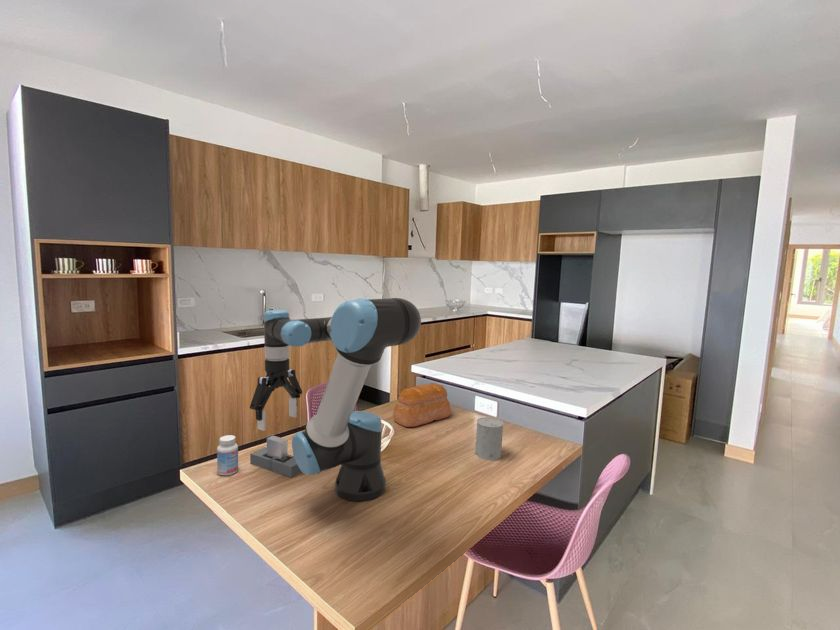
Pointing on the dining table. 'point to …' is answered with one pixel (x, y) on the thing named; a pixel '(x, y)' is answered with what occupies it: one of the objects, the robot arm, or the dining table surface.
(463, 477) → the dining table surface
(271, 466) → the grey slotted block
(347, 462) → the robot arm
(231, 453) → the pill bottle
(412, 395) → the bread
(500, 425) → the grey concrete cylinder
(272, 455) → the white rectangular block
